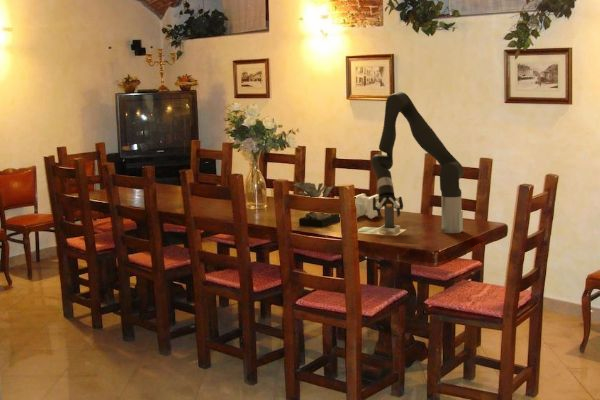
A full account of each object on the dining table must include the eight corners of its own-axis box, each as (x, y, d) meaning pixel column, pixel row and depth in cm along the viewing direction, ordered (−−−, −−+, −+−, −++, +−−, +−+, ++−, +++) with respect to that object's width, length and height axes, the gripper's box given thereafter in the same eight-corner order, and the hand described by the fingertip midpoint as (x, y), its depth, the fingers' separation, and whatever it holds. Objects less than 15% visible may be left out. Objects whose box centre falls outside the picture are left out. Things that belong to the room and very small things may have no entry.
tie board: (406, 232, 357) (406, 224, 356) (396, 238, 345) (396, 230, 344) (363, 229, 367) (363, 222, 366) (352, 235, 354) (352, 227, 354)
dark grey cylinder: (395, 231, 354) (395, 203, 352) (392, 232, 350) (391, 205, 348) (386, 230, 356) (386, 203, 354) (383, 232, 352) (383, 204, 350)
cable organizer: (364, 213, 408) (363, 192, 406) (382, 214, 403) (381, 193, 401) (353, 218, 395) (352, 197, 393) (371, 219, 390) (371, 198, 388)
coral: (318, 229, 371) (317, 186, 367) (284, 226, 382) (283, 184, 378) (343, 220, 391) (342, 179, 388) (311, 217, 402) (309, 178, 399)
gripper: (371, 184, 358) (374, 212, 349) (401, 183, 359) (405, 211, 349) (370, 193, 364) (373, 221, 355) (399, 192, 365) (403, 220, 355)
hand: (389, 216), depth 352 cm, fingers open, 8 cm apart
